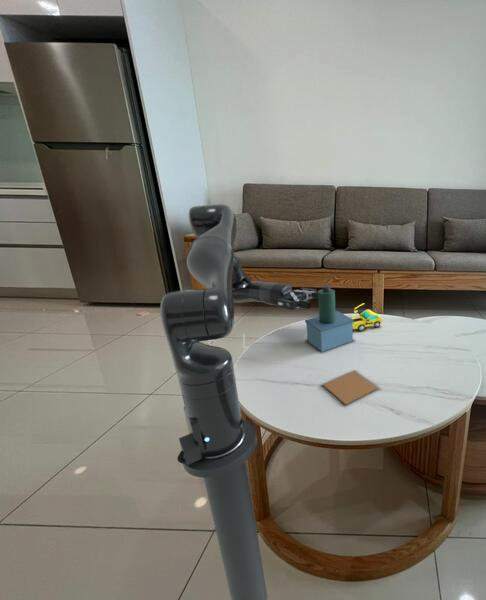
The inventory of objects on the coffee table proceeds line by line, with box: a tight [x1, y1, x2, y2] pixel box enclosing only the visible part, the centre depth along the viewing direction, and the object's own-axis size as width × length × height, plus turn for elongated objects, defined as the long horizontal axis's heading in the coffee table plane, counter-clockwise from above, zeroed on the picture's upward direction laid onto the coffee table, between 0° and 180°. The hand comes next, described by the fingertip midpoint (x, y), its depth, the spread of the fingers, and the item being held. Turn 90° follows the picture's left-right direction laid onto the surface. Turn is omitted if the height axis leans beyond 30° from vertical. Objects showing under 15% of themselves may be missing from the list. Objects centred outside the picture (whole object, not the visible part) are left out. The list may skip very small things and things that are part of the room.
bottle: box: [317, 284, 336, 324], centre depth 102 cm, size 5×5×12 cm
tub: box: [304, 310, 354, 353], centre depth 106 cm, size 13×10×8 cm
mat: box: [322, 371, 378, 406], centre depth 84 cm, size 10×10×1 cm
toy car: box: [350, 302, 383, 332], centre depth 117 cm, size 12×8×8 cm, turn 120°
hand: (317, 301), depth 104 cm, fingers open, 8 cm apart
